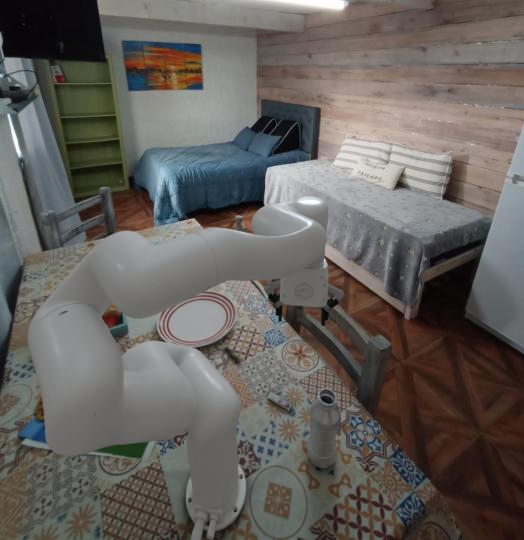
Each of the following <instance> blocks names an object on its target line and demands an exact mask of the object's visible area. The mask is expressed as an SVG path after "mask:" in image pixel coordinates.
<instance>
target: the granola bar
mask: <svg viewBox="0 0 524 540" xmlns="http://www.w3.org/2000/svg"><path fill="white" fill-rule="evenodd" d="M267 400H270V401H272V402H273V403H275V404H276V405H277V406H279V407H282V408H283V409H285V410H287V412H290V410H291V408H292V406H293V402H292V403H291V402H290V401H288V400H287V399H285V398H283V397H282V396H280V395H278V394H276V393H275V392H273V391H271V390H270V392H269V394H268V395H267Z"/></svg>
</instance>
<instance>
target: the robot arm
mask: <svg viewBox="0 0 524 540" xmlns="http://www.w3.org/2000/svg"><path fill="white" fill-rule="evenodd" d="M329 210H330V209H329V205H328V203H327V202H326V201H325V200H324V199H322V198H321V197H317V196H313V195H312V196H311V195H304V196H298V197H296V198H295V199H293V200H292V201H285V202H276V203H270V204H266V205H264V206H262V207H261V208H259V209H258V210H257V211H255V213H254V214H253V216H252V219H251V222H250V227H251V228H250V229H251V231H252V233H249V232H244V231H240V230H237V229H232V228H226V227H214V226H213V227H207V228H204V229H201V230H198V231H195V232H192V233H189V234H186V235H182V236H180V237H176V238H173V239H171V240H167V241H165V242H161V243H158V244H152V243H151V242H150V241H149V240H148V239H146V238H145V237H144V236H143V235H142V234H140V233H138V232H136V231H132V230H121V231H117V232H114V233H112V234H110V235H108V236H106V237H105V238H104V239H102V240H101V241H99V242H98V243H96V245H95V246H94V247H92V248H91V250H89V252H88V253H87V254H86V255H85V256H83V258H82V259H81V260H80V261H79V262H78V263H77V264H76V266H75V267H74V268H73V269H72V270H71V271H70V273H68V274H67V276H66V277H65V278H64V279H63V280H62V281H61V283H60V284H59V285H58V286H57V287H56V288H55V290H53V292H52V293H51V294H50V295H49V296H48V297H47V298H46V300H45V301H44V302H43V303H42V304H41V306H40V307H39V308H38V309H37V311H36V312H35V314H34V316H33V317H32V319H31V321H30V323H29V326H28V329H27V346H28V350H29V353H30V354H29V355H30V357H31V360H32V364H33V367H34V368H33V369H34V372H35V378H36V381H37V385H38V388H39V392H40V397H41V401H42V402H41V403H42V409H43V418H44V435H45V442H46V445H47V446H48V447H49V449H50V450H51V451H52V452H53V453H55V454H57V455H59V456H63V457H76V456H83V455H86V454H89V453H92V452H95V451H97V450H100V449H103V448H107V447H111V446H121V445H122V446H123V445H131V444H141V443H150V442H157V441H164V440H169V439H172V438H175V437H178V436H179V435H181V434H183V433H184V432H185V431H186V430H187V431H188V433H187V436H186V453H187V460H188V464H189V465H188V466H189V474H190V476H189V478H188V481H187V485H186V489H185V505H186V510H187V513H188V515H189V517H190V519H191V521H192V522H193V524H194V526H193V529H192V530H191V531H192V533H191V535H190V540H202V538H203V532H204V531H206V532H207V533H206V539H207V540H214V537H215V533H216V532H219V531H221V530H224V529H226V528H228V527H229V526H230V525H231V524H232V523H234V521H236V519H237V518H238V517H239V515H240V513H241V511H242V509H243V507H244V505H245V501H246V497H247V496H246V495H247V479H246V475H245V472H244V470H243V468H242V466H241V465H240V463H239V456H238V455H239V454H238V425H239V424H238V423H239V421H240V417H241V412H242V404H241V399H240V397H239V395H238V393H237V391H236V390H235V389H234V387H233V386H232V385H231V384H230V382H229V381H228V380H227V378H225V377H224V375H223V374H222V373H221V372H220V371H219V370H218V369H217V368H216V367H215V366H214V364H213V363H212V362H211V361H209V359H208V358H207V357H206V356H205V355H204V353H202V352H201V351H200V350H199V349H197V348H192V347H188V346H183V345H178V344H172V343H167V342H165V341H160V340H147V341H144V342H140V343H138V344H136V345H134V346H132V347H131V348H130V349H128V350H127V351H125V352H124V353H123V354H122V352H121V349H120V347H119V345H118V343H117V341H116V340H115V338H114V336H113V335H112V334H113V333H111V331H110V329H109V327H108V325H107V324H106V322H105V321H104V319H103V315H105V313H106V312H107V310H108V309H109V308H110V307H111V306H112V304H113V305H114V307H115V308H116V309H117V310H118V311H119V312H121V313H122V314H123V315H124V316H126V317H129V318H132V319H137V320H141V319H147V318H150V317H153V316H156V315H159V314H160V312H162V311H164V310H167V309H169V308H171V307H173V306H175V305H177V304H179V303H181V302H183V301H186V300H188V299H190V298H192V297H194V296H196V295H198V294H200V293H202V292H205V291H210V290H211V289H213V288H215V287H217V286H219V285H221V284H224V283H226V282H229V281H238V282H256V281H271V280H272V281H271V282H268V283H266V284H264V287H263V291H264V292H265V294H266V295H267V298H268V300H269V301H271V302H272V303H273V304H274V307H275V316H276V317H278V323H281V322H282V321H283V305H288V306H296V307H297V306H299V307H309V308H321V309H320V325H321V326H322V327H325V326H326V321H329V316H330V312H332V309H333V308H335V307H336V306H338V305H339V302H341V301H342V299H343V298H344V297H345V294H344V293H345V292H344V290H342V289H340V288H339V287H337V286H335V285H334V284H331V283H329V266H328V262H327V259H326V258H325V252H326V245H327V242H328V241H327V240H328V239H327V238H328V237H327V233H328V223H329V222H328V221H329V213H330V211H329ZM273 280H274V281H273ZM277 289H279V292H278V293H276V292H275V291H274V290H277ZM329 293H330V294H331V295H333V296H331V297H330V298H329ZM235 511H236V512H235Z"/></svg>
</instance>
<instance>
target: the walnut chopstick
mask: <svg viewBox="0 0 524 540" xmlns="http://www.w3.org/2000/svg"><path fill="white" fill-rule="evenodd" d="M224 351H225V352H226V353H227V354H228V355H229V356H230V357H231V358H232V359H233V360H234V361H235V362H236V363H237V364H239V363H240V362H241V360H240V359H239V357H237V356H236V354H235V353H233V351H231V350H230V349H229V348H228V347H224Z"/></svg>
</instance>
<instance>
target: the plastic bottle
mask: <svg viewBox="0 0 524 540" xmlns="http://www.w3.org/2000/svg"><path fill="white" fill-rule="evenodd" d="M309 419H310V434H309V437H308V439H307V443H306V451H307V456H308V458H309V461H310V462H311V463H312V464H313V465H314V466H316V467H318V468H319V469H328V468H330V467H332V466H333V464H334V463H335V461H336V459H337V455H338V454H337V453H338V452H337V451H338V450H337V444H336V442H337V441H336V439H337V433H338V429H339V426H340V423H341V420H342V415H341V411H340V408H339V406H338V404H337V395H336V393H335V392H334V390H331V389H330V388H321V389H320V390H319V392H318V395H317V397H316V398H315V399H314V400H313V401H312V402H311V405H310V406H309Z"/></svg>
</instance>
